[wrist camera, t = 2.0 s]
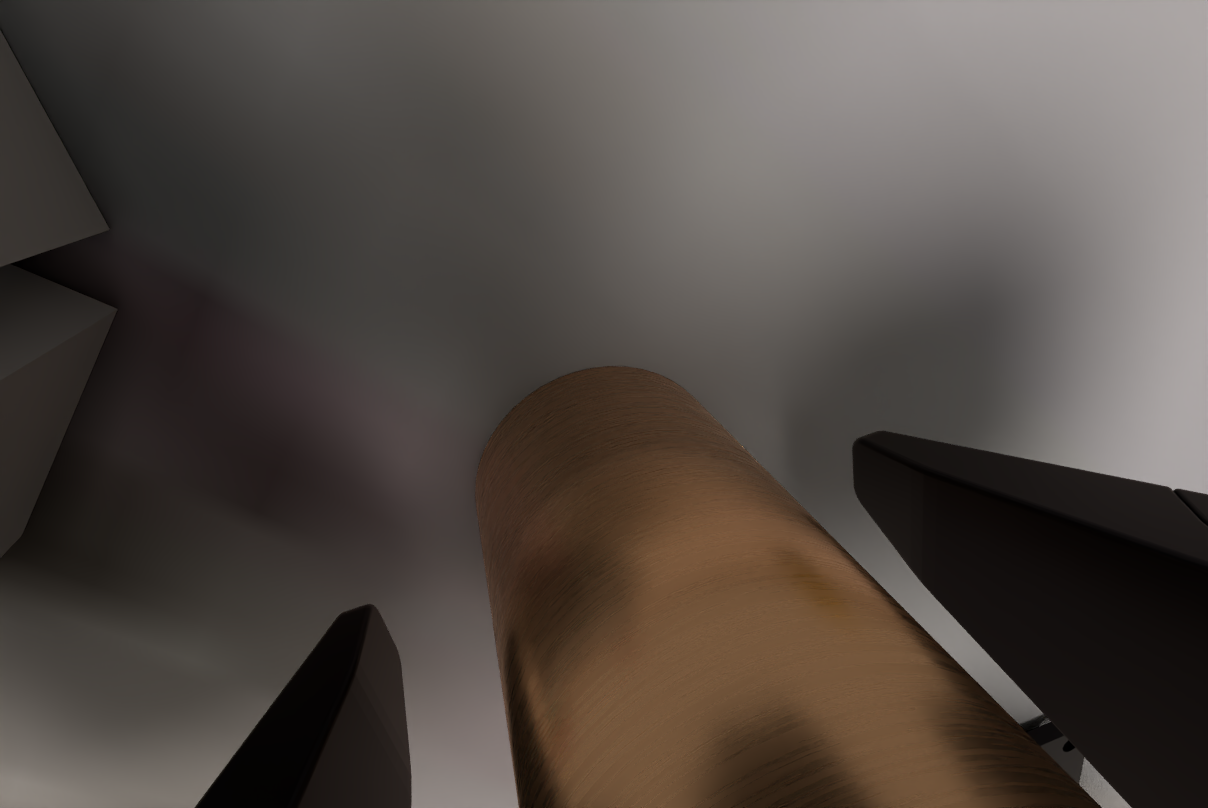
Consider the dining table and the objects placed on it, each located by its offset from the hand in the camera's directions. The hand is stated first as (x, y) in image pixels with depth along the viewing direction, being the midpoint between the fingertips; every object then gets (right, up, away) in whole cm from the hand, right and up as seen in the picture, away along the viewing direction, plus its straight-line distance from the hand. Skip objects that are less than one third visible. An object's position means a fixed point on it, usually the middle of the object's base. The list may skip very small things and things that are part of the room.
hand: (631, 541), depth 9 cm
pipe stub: (0, +1, +1) cm, 2 cm away
